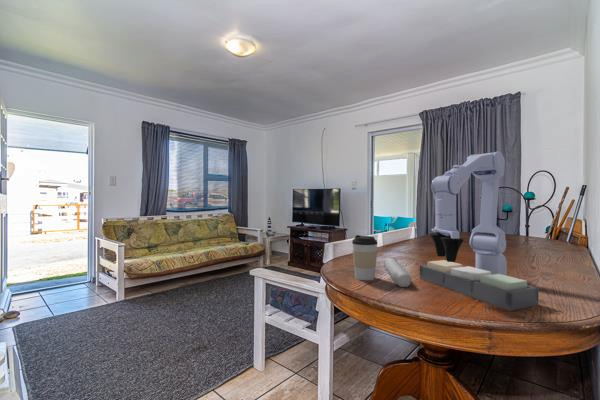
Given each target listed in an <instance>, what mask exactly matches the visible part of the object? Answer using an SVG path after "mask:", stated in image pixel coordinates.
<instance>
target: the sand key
mask: <svg viewBox="0 0 600 400" xmlns="http://www.w3.org/2000/svg"><path fill="white" fill-rule="evenodd" d="M426 265H427V267H429V268H433V269H436V270H439V271H443V272H451V268H458V267H464V266H463V264H461V263H458V262H447V260H446V259H440V260H432V261H431V260H430V261H427V264H426Z"/></svg>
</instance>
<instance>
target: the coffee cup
mask: <svg viewBox="0 0 600 400" xmlns="http://www.w3.org/2000/svg"><path fill="white" fill-rule="evenodd" d="M351 241H352V242H351V243H352V257H353V258H352V259H353V260H352V261H353V266H354V277H355V279H356V280H360V281H373V280H375V275H376V266H377V257H378V256H377V255H378V249H377V248H378V240H377V239H376V238H375V236H370V235H360V234H359V235H358V234H356V235H355V236H354V239H352V240H351Z"/></svg>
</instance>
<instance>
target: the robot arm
mask: <svg viewBox="0 0 600 400" xmlns="http://www.w3.org/2000/svg"><path fill="white" fill-rule="evenodd" d="M505 165H506V159H505V158H504V155H503V153H502V152H501V151H495V152H487V153H479V154H470V155H469V156H467V158H466V161H465V162H464V163H463V164H461V165H460V164H454V165H453V166H452V168H451V169H450V170H447V171H446V172H444V174H442V175H439V176H438V175H437V176H436V177H435V178H433V179H432V181H431V184H430V188H431V189H430V190H431V192H432V194H433V195H432V197H433V200H435V203H434V205H435V211H434V212H435V217H434V218H435V226H434V227H433V228H431V231H432V232H434V233H432V234H430V238H431V239H432V241H433V243H434V246H435V247H434V248H435V252H436V254H437V255H436V256H437V257H445V260H446V261H447V262H454V263H456V260H457V257H458V253H459V249H460V247H461V245H462V244H463V242H464V238H460V231H458V229H457V194H459V193H460V191H461V188H462V187H463V184H465V182H467V181H468V180H470V177H471V174H472V175H473V176H474V177H475V178H476V179H479V180H481V182H482V186H481V198H480V210H479V211H480V213H479V224H478V225H477V226H475V227H474V228H472V229H471V234H470V237H469V241H468V242H469V246H470V248H471V249H472V250H473V252H474V253H475V268H478V269H482V270H486V271H490V272H491V275H494V274H502V275H506V276H508V275H507V273H508V272H507V271H508V270H507V266H508V265H507V257H506V256H505V255H504V254H503V253H504V252H505V251H506V248H507V240H506V232H505V231H504V230H503V229H501V228H500V227H499V226H498V225H497V219H498V218H497V217H498V203H499V191H500V190H499V189H500V187H499V186H500V179H501V178H502V177H504V176H505Z"/></svg>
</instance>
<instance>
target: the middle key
mask: <svg viewBox="0 0 600 400" xmlns="http://www.w3.org/2000/svg"><path fill="white" fill-rule="evenodd" d="M451 274H453V275H456V276H459V277H463V278H466V279H469V280H473V281H474V280H480V276H487V275H491V272H490V271H486V270H482V269H478V268H476V267H474V266H468V265H467V266H463V267H458V268H451Z"/></svg>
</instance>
